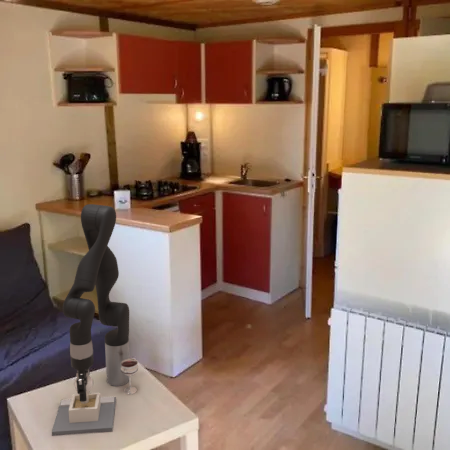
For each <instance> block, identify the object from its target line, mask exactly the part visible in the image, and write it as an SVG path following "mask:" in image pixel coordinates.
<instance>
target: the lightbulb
mask: <svg viewBox="0 0 450 450" xmlns="http://www.w3.org/2000/svg"><path fill="white" fill-rule="evenodd" d="M76 380H77V377H76V378H75V379H74V383H73V385H74V388H75V391H77V382H76ZM85 382H86V380H85ZM93 386H94V380H93V378H92V376H90V375H88V384H87V385H86V390H87V391H86V397H87V400H86V401H84V402H81V403H82V404H86V403H88V402H89V398H88V397H89V396H88V395H89V393H91V392H90V391H91V390H92V388H93Z"/></svg>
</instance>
